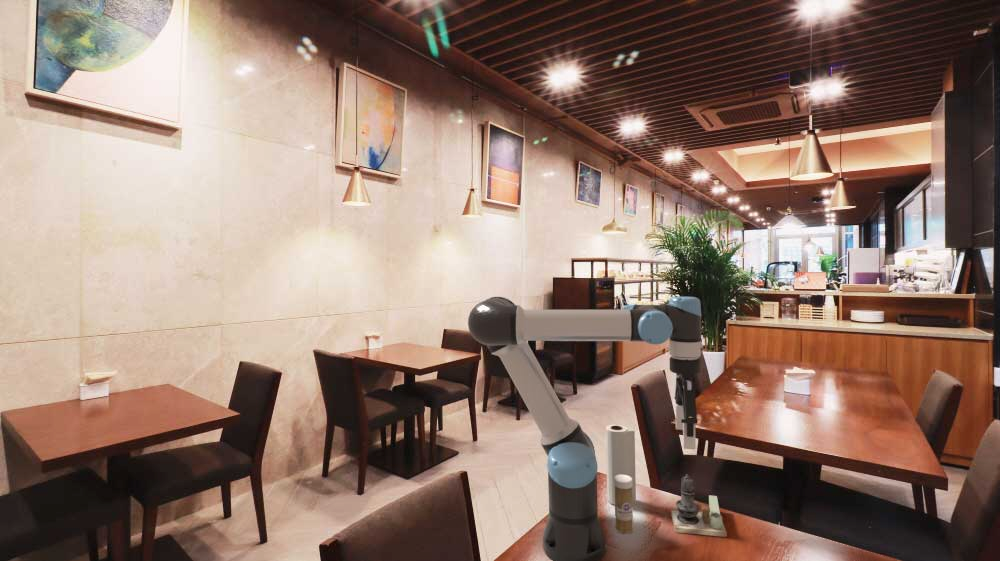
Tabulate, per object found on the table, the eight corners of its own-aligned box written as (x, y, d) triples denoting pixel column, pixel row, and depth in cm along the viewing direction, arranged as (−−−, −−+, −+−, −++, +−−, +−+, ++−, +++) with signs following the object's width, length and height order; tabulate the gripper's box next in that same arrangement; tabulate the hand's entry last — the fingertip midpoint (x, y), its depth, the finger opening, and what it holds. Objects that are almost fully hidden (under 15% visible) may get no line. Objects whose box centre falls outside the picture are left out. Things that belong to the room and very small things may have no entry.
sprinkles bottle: (621, 536, 118) (620, 483, 117) (611, 526, 122) (610, 475, 122) (637, 532, 119) (636, 479, 119) (626, 522, 124) (625, 472, 123)
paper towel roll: (603, 498, 137) (601, 425, 136) (620, 494, 139) (618, 422, 138) (618, 510, 130) (617, 433, 129) (636, 505, 132) (634, 430, 132)
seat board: (675, 532, 119) (674, 515, 118) (670, 513, 127) (670, 498, 127) (726, 537, 116) (726, 520, 116) (718, 517, 125) (718, 502, 124)
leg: (722, 529, 116) (722, 517, 116) (710, 527, 117) (710, 515, 117) (718, 505, 128) (718, 494, 128) (707, 503, 129) (707, 492, 129)
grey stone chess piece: (702, 526, 119) (701, 479, 118) (677, 524, 120) (677, 478, 119) (697, 513, 124) (697, 469, 124) (674, 512, 126) (673, 467, 125)
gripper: (710, 367, 108) (710, 459, 109) (692, 348, 132) (692, 423, 133) (676, 366, 110) (676, 456, 110) (664, 347, 134) (664, 421, 134)
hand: (685, 438), depth 122 cm, fingers open, 13 cm apart
